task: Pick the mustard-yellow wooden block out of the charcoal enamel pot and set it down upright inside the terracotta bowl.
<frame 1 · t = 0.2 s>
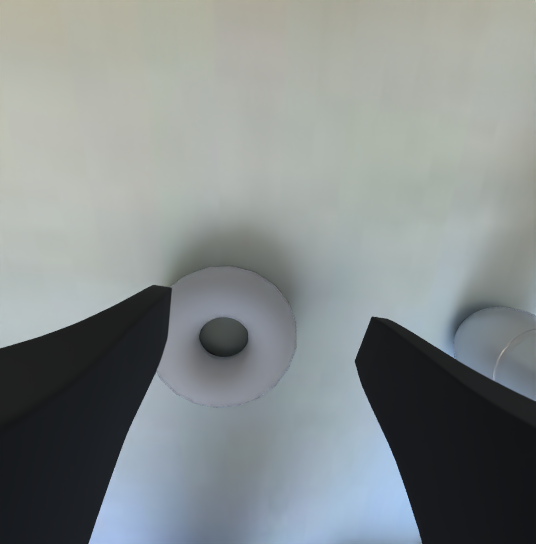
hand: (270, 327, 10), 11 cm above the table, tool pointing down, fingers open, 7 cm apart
silver bottle: (476, 336, 24), on the table
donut: (225, 326, 22), on the table
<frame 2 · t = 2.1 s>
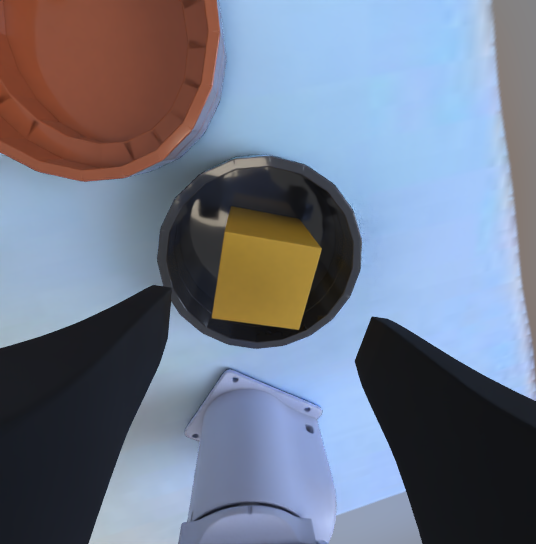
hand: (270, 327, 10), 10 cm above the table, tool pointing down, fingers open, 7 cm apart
pot: (259, 243, 20), on the table
block: (259, 245, 19), resting on pot
bowl: (107, 49, 15), on the table
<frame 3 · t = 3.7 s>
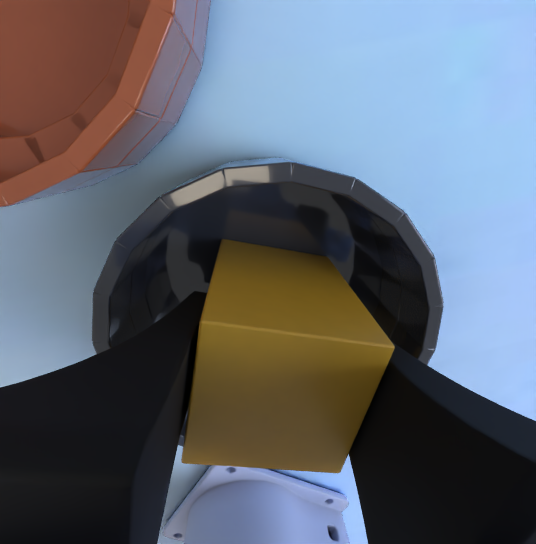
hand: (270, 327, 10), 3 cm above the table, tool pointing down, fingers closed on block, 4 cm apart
pot: (265, 290, 13), on the table
block: (265, 295, 13), point 1 cm above the table, touching gripper, pot
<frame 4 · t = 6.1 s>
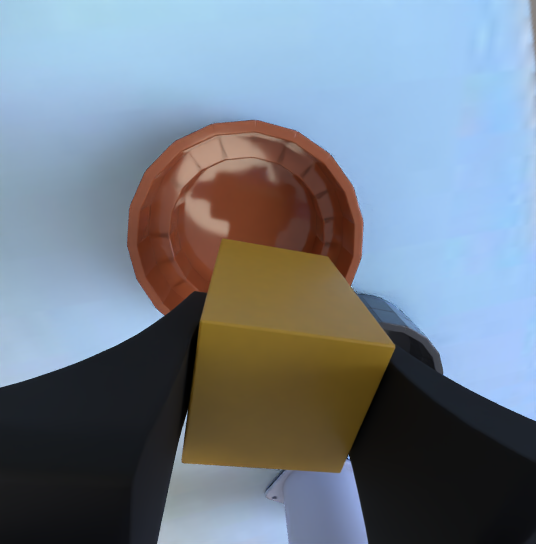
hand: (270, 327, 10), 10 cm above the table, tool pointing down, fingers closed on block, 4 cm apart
pot: (345, 353, 24), on the table
block: (265, 295, 13), point 8 cm above the table, touching gripper
bowl: (248, 229, 19), on the table
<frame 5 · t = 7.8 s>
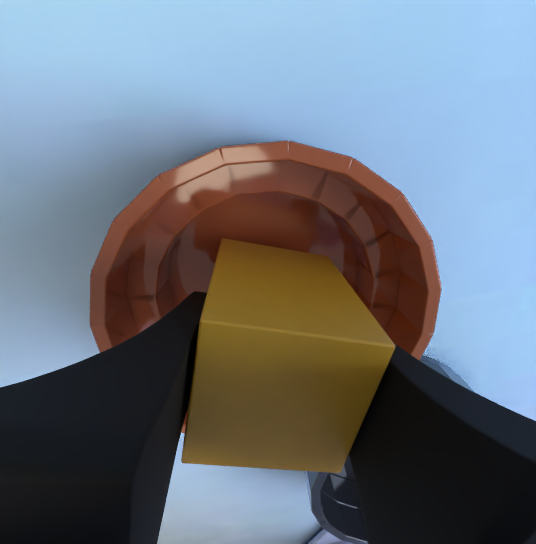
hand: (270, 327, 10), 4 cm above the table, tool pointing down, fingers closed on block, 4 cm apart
pot: (382, 422, 19), on the table
block: (265, 295, 13), point 2 cm above the table, touching gripper
bowl: (263, 277, 14), on the table
when the fingers open (3 cm above the table, at t = 8.7 s): block stays where it is, resting on bowl.
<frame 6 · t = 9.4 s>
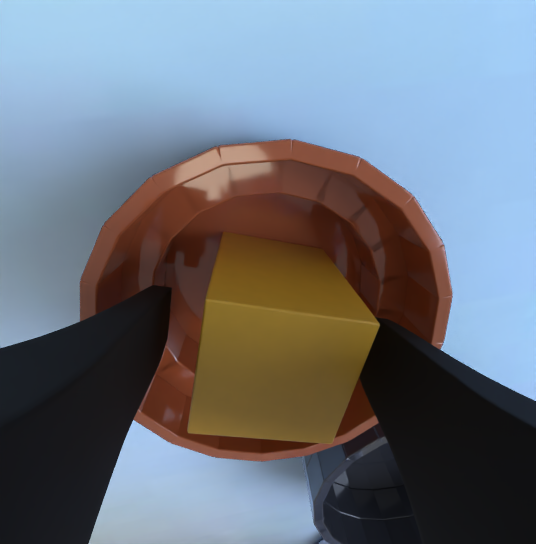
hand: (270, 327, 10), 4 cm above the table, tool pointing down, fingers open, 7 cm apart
pot: (386, 430, 18), on the table
block: (264, 285, 13), point 1 cm above the table, touching bowl
bowl: (264, 282, 14), on the table
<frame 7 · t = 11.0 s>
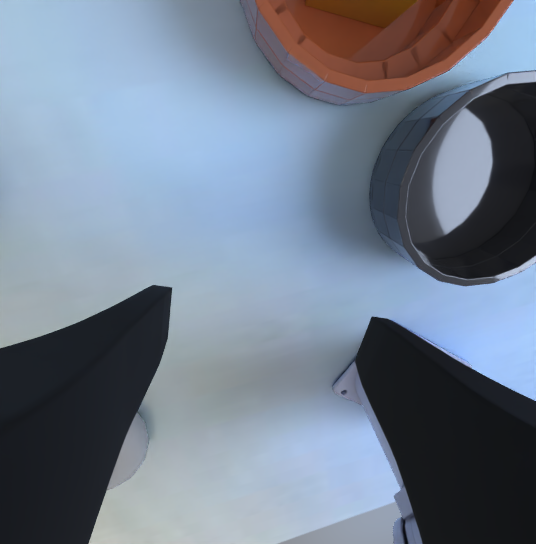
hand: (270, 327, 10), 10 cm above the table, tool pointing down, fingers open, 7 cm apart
pot: (451, 184, 19), on the table
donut: (95, 422, 26), on the table
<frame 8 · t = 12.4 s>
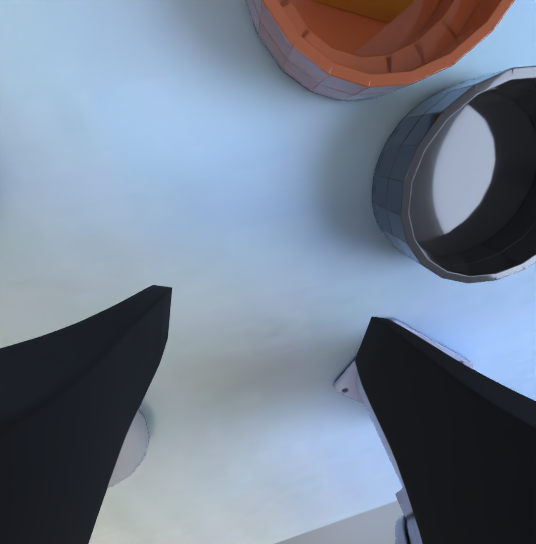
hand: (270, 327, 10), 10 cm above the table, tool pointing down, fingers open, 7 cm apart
pot: (454, 181, 19), on the table
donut: (95, 420, 25), on the table
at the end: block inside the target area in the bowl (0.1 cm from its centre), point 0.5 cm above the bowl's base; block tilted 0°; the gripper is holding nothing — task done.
